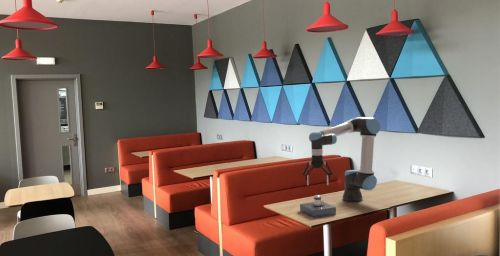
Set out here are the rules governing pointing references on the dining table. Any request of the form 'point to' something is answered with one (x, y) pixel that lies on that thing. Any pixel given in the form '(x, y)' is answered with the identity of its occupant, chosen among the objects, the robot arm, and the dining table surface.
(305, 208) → the flange plate
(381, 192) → the dining table surface
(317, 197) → the silver metal cylinder
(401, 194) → the dining table surface
